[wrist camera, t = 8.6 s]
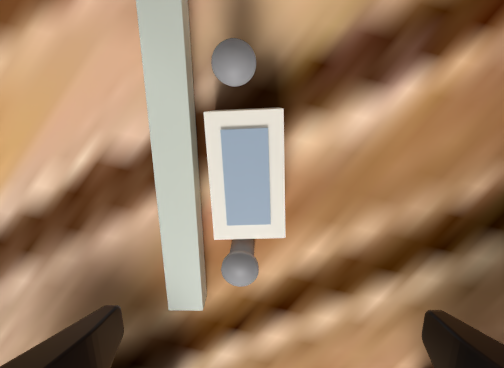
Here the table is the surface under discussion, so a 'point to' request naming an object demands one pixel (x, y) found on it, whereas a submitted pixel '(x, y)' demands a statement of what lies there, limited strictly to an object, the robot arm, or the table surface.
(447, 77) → the table surface
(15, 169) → the table surface
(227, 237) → the cream rectangular block
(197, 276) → the rail
